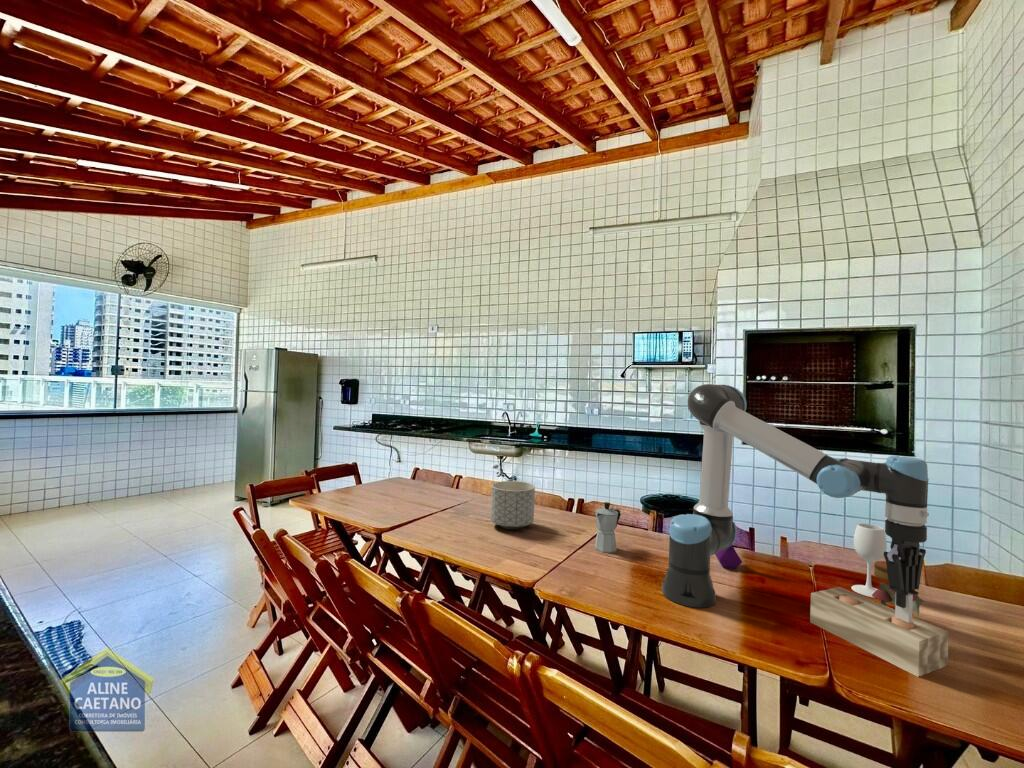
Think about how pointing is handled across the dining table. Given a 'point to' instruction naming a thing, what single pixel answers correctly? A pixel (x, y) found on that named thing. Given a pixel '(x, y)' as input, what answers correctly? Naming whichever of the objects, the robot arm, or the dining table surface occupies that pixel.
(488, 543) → the dining table surface
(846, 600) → the rear peg
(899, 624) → the front peg
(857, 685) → the dining table surface
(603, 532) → the coffee maker
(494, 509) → the planter
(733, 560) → the perfume bottle
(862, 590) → the wineglass
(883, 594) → the toy burger
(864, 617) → the socket block
